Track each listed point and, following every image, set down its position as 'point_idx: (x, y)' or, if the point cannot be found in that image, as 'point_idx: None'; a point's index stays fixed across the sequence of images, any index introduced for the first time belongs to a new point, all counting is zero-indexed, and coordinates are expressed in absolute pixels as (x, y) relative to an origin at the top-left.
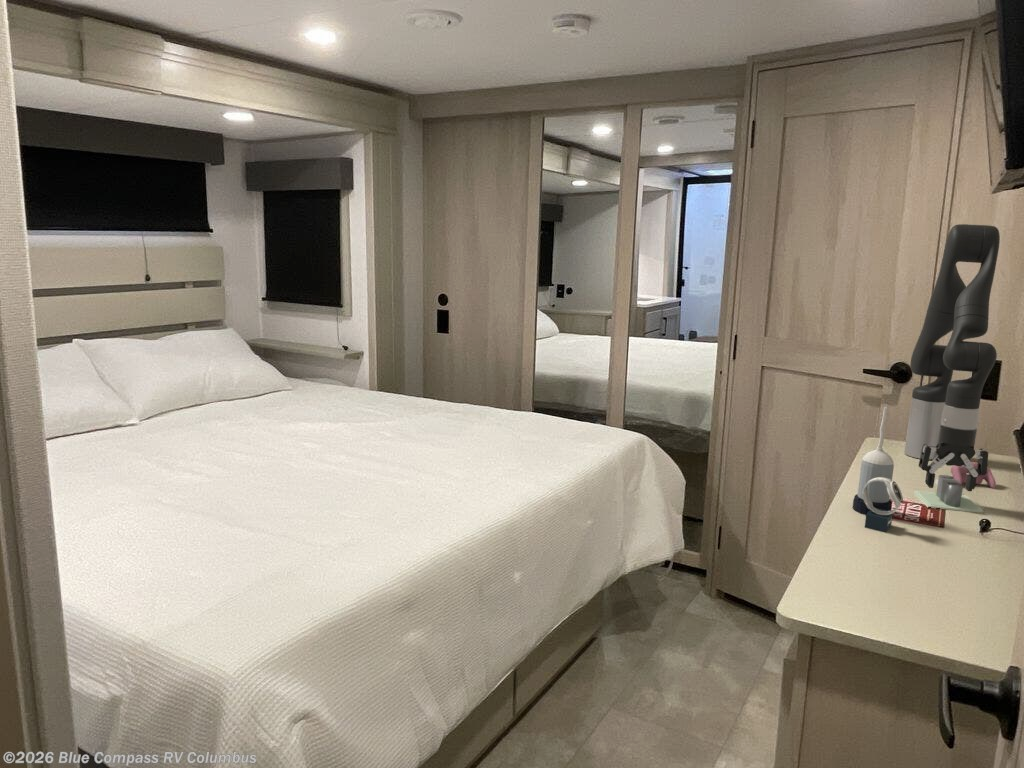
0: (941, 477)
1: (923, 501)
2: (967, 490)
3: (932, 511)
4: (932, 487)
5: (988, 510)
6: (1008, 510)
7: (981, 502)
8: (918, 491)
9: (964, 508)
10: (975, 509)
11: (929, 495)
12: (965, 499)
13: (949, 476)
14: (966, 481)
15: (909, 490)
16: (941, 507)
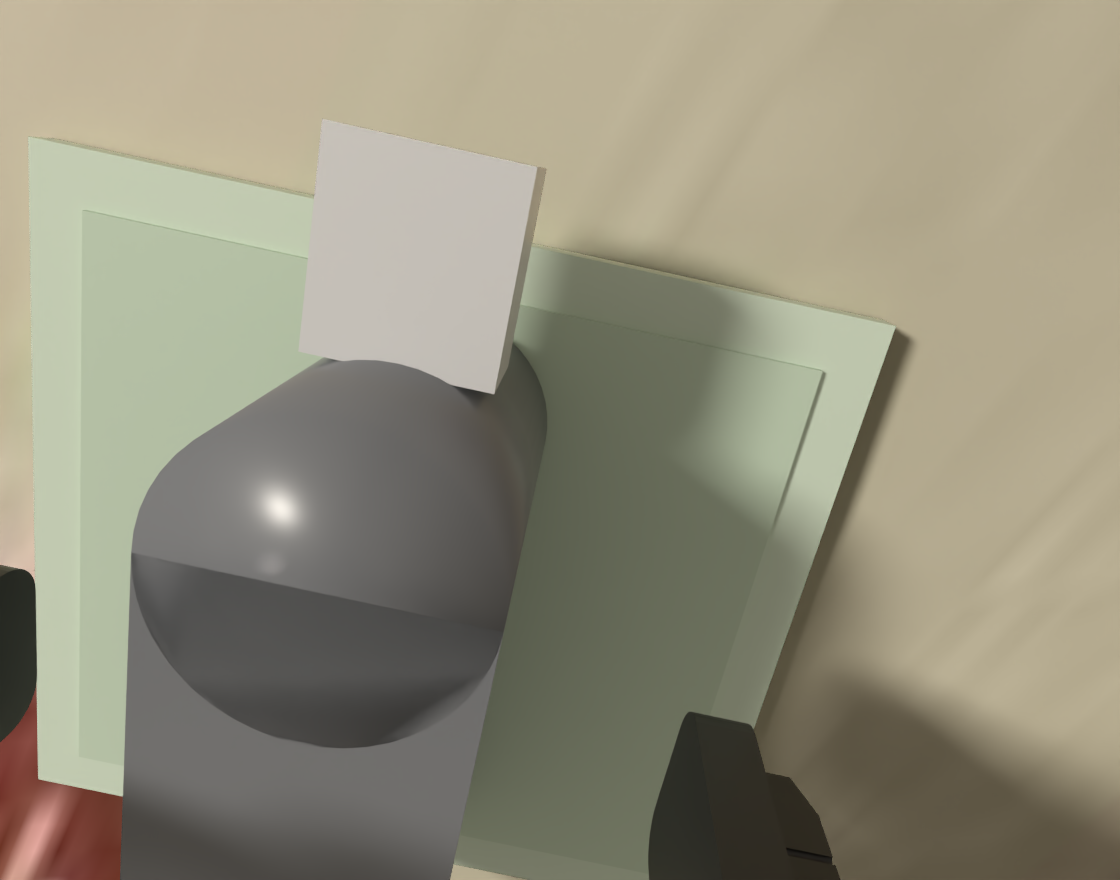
0: (150, 646)
1: (40, 618)
2: (660, 793)
3: (73, 854)
4: (8, 714)
5: (822, 816)
6: (1115, 811)
7: (973, 543)
8: (103, 181)
9: (479, 852)
10: (610, 874)
11: (206, 406)
12: (722, 551)
13: (426, 560)
14: (706, 830)
15: (21, 11)
16: None
